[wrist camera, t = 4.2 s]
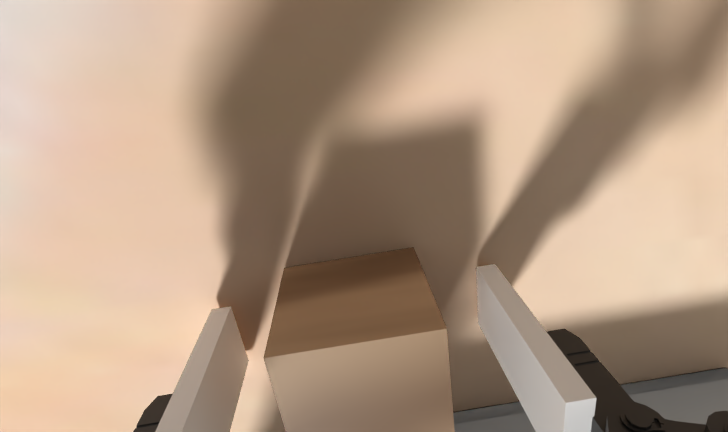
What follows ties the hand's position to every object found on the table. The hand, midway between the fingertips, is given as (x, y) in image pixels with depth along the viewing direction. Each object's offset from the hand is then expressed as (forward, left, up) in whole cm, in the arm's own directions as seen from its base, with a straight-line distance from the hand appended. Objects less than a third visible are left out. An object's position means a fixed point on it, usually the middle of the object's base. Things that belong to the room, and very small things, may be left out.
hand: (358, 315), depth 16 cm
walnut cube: (0, 0, 0) cm, 0 cm away
